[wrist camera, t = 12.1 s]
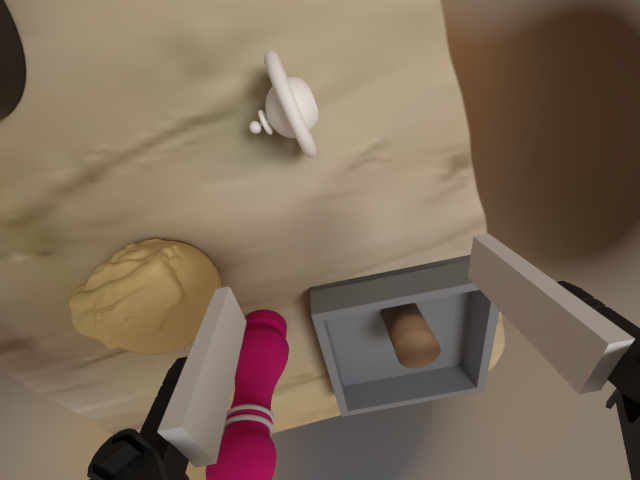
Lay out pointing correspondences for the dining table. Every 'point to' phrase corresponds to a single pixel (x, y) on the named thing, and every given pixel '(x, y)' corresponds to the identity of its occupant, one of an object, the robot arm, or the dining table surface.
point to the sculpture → (146, 297)
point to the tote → (375, 345)
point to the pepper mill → (253, 402)
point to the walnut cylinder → (410, 336)
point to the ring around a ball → (288, 107)
